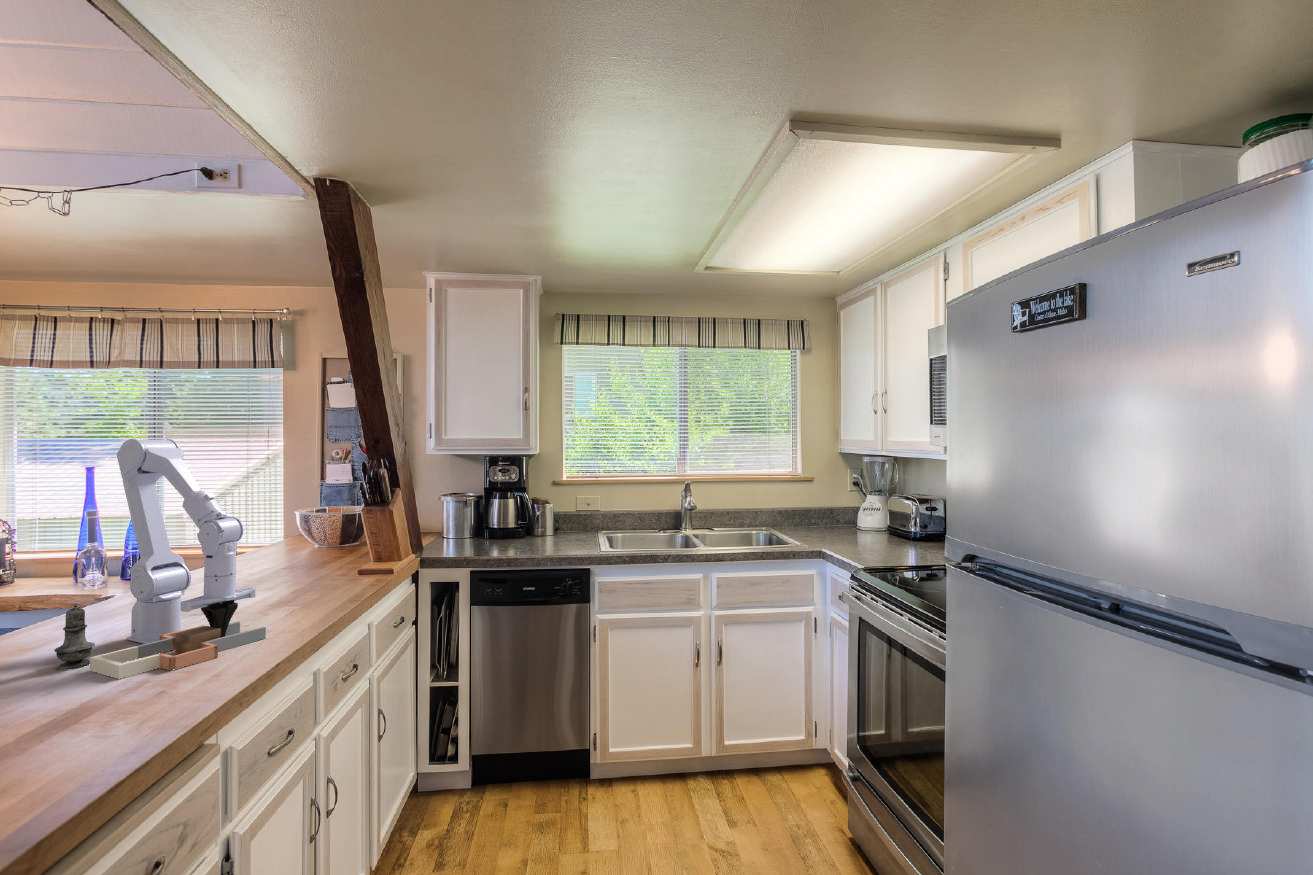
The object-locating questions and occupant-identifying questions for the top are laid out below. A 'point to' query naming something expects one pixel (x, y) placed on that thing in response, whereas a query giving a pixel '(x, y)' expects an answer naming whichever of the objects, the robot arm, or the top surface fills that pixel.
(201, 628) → the walnut block
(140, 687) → the top surface
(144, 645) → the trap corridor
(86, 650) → the salt shaker
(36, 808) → the top surface
